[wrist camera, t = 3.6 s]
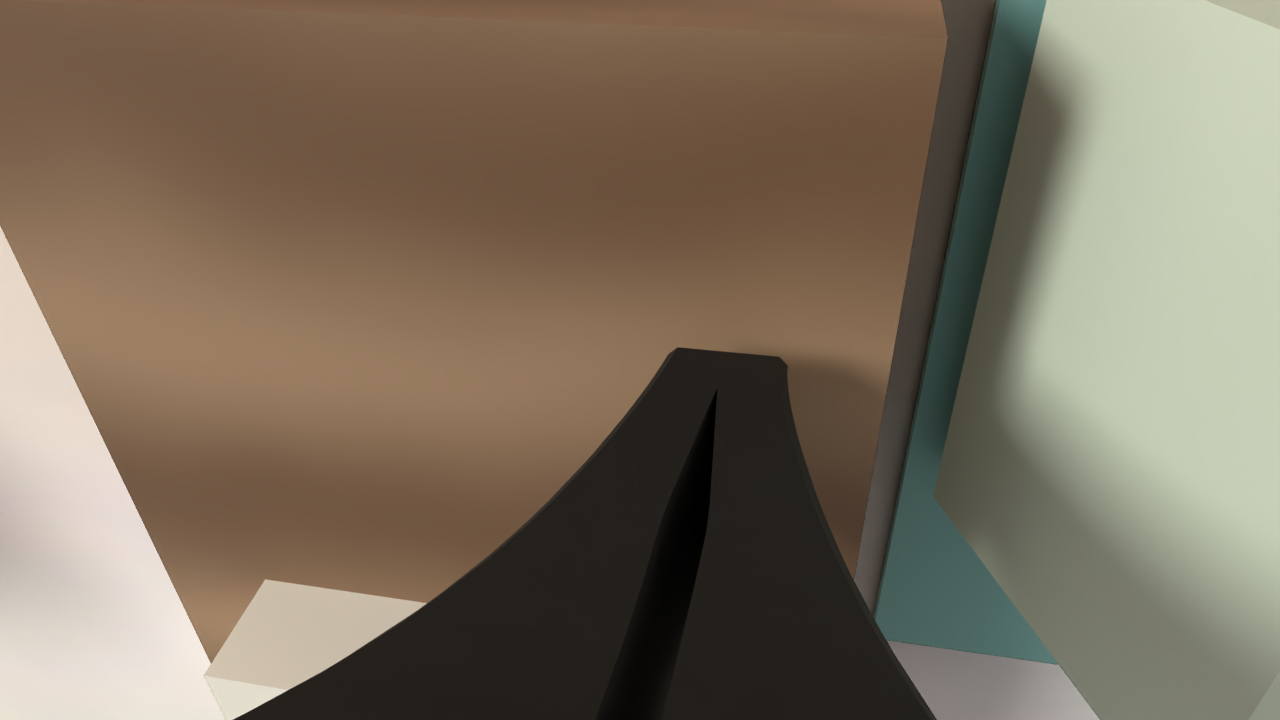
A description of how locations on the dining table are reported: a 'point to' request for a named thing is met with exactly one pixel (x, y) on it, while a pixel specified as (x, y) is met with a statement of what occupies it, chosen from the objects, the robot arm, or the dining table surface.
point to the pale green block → (1136, 360)
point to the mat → (921, 531)
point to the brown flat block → (448, 252)
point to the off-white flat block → (294, 640)
